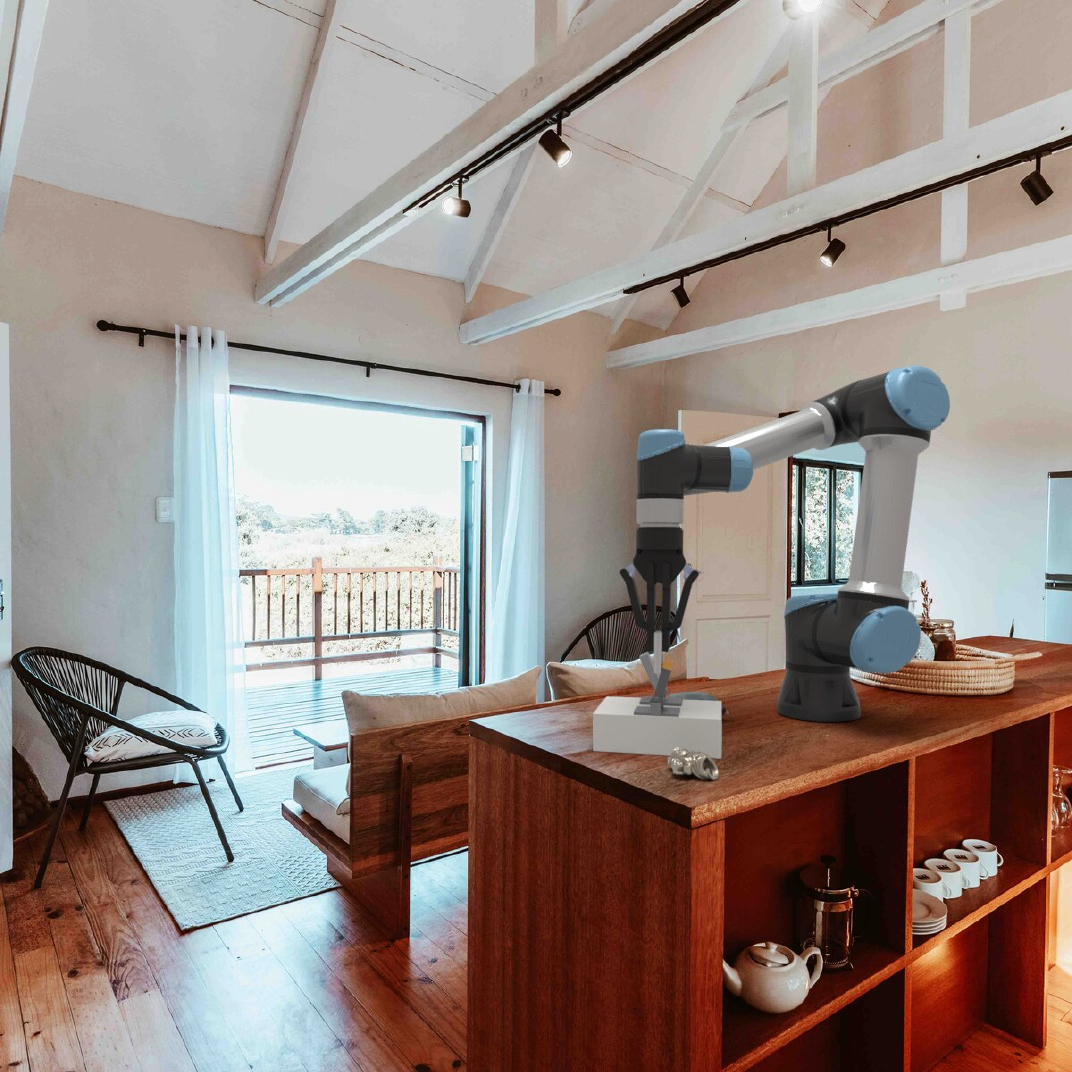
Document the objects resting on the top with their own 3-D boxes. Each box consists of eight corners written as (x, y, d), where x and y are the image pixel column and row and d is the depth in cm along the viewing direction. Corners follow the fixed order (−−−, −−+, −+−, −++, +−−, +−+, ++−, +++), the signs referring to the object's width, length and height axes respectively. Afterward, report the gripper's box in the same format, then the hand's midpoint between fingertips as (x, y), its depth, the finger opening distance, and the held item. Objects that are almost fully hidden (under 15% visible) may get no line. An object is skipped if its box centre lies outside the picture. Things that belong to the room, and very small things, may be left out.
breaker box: (721, 735, 128) (720, 652, 129) (721, 758, 115) (720, 664, 115) (606, 729, 133) (605, 649, 133) (593, 751, 120) (592, 661, 120)
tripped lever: (662, 707, 121) (676, 660, 121) (660, 711, 119) (675, 663, 118) (650, 703, 122) (664, 656, 121) (648, 706, 119) (663, 658, 119)
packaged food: (658, 713, 147) (658, 688, 147) (717, 712, 147) (717, 687, 147) (667, 724, 138) (666, 698, 138) (730, 723, 138) (730, 697, 138)
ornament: (653, 774, 108) (653, 748, 108) (685, 765, 113) (684, 741, 113) (695, 788, 102) (695, 761, 102) (728, 778, 106) (727, 752, 106)
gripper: (700, 526, 123) (699, 670, 122) (623, 526, 126) (622, 666, 126) (699, 526, 115) (697, 678, 115) (617, 525, 118) (615, 673, 118)
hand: (658, 671), depth 120 cm, fingers closed
